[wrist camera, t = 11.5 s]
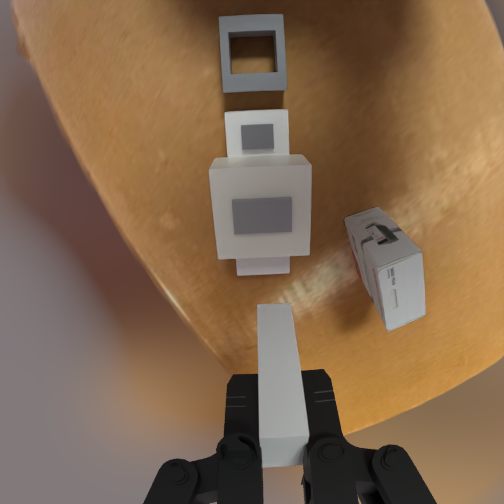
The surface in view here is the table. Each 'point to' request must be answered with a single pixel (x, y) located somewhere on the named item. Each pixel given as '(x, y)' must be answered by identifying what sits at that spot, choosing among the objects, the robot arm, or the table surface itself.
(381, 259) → the ink box
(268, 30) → the plug rest
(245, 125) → the socket
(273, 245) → the plug
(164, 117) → the table surface
